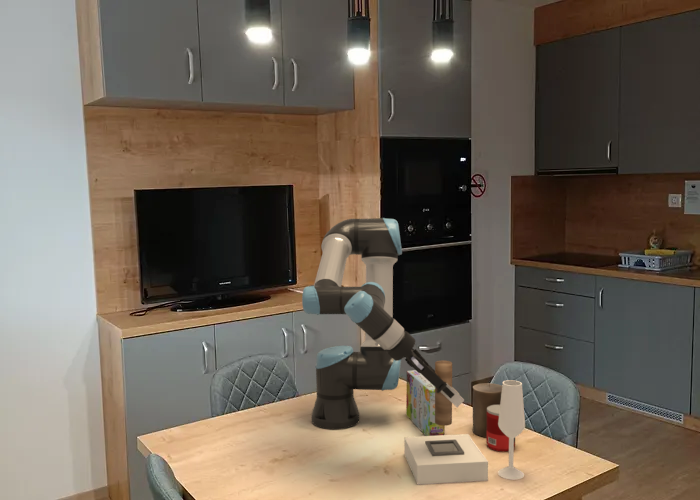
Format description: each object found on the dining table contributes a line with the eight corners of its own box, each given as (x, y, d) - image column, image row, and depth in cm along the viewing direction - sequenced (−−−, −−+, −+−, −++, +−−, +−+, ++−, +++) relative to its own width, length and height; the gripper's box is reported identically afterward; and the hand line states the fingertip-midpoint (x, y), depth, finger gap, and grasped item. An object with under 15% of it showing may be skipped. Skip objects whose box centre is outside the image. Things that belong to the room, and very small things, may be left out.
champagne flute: (523, 469, 171) (525, 379, 168) (524, 480, 164) (526, 388, 162) (497, 467, 172) (498, 378, 170) (497, 478, 166) (498, 386, 163)
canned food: (515, 453, 181) (516, 414, 179) (486, 451, 182) (486, 413, 181) (514, 442, 188) (515, 405, 187) (486, 440, 190) (486, 403, 189)
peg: (433, 419, 173) (433, 360, 171) (449, 419, 173) (449, 360, 172) (436, 426, 169) (437, 365, 167) (453, 425, 169) (454, 364, 167)
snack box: (446, 438, 192) (446, 388, 190) (428, 440, 190) (428, 390, 189) (421, 413, 212) (421, 368, 211) (404, 415, 211) (404, 369, 209)
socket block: (404, 454, 181) (404, 435, 180) (468, 451, 182) (468, 431, 182) (417, 484, 163) (417, 463, 162) (487, 480, 164) (488, 459, 164)
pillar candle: (506, 439, 190) (507, 389, 189) (472, 437, 192) (472, 387, 191) (504, 427, 200) (505, 379, 198) (471, 425, 202) (472, 377, 200)
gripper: (380, 342, 176) (440, 399, 179) (390, 360, 159) (456, 422, 162) (399, 322, 176) (459, 379, 179) (411, 338, 159) (477, 401, 162)
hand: (457, 400), depth 171 cm, fingers closed on peg, 4 cm apart
